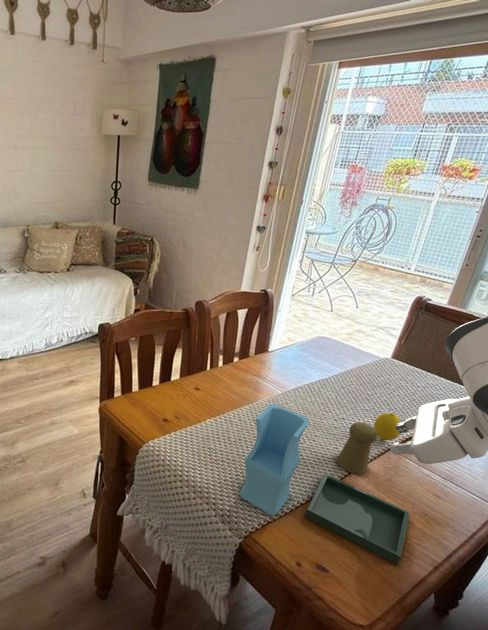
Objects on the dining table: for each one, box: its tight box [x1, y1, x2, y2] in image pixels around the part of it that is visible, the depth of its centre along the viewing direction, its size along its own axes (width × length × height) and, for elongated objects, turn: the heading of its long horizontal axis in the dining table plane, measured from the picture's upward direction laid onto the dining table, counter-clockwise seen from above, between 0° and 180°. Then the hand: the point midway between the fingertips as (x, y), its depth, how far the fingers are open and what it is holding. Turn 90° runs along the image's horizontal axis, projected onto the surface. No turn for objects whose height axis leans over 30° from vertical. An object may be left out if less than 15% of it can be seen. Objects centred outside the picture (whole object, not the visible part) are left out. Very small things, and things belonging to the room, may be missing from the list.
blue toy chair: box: [239, 403, 311, 516], centre depth 89 cm, size 8×8×20 cm
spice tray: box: [304, 473, 411, 565], centre depth 88 cm, size 16×14×2 cm
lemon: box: [373, 412, 402, 441], centre depth 110 cm, size 6×6×8 cm
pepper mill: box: [336, 421, 378, 475], centre depth 101 cm, size 6×6×11 cm
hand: (394, 438), depth 94 cm, fingers open, 8 cm apart
